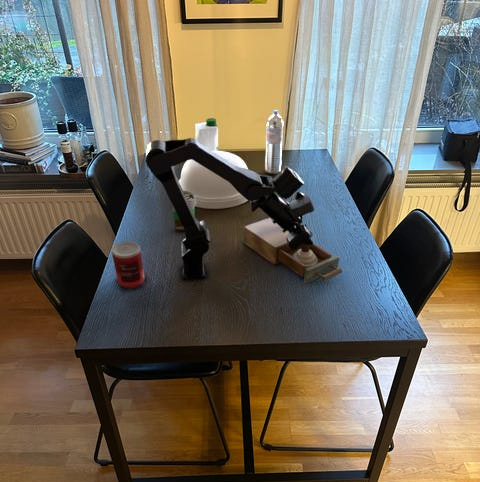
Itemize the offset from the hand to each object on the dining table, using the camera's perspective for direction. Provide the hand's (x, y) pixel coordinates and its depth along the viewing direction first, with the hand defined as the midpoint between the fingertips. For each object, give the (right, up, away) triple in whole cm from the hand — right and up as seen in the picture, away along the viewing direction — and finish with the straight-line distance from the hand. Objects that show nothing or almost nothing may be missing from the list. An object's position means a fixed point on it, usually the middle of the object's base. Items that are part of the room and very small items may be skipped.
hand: (310, 241), depth 132 cm
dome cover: (-30, +26, +46) cm, 61 cm away
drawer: (0, -8, +3) cm, 8 cm away
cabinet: (-9, 0, +14) cm, 17 cm away
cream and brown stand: (-1, -5, +4) cm, 7 cm away
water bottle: (-7, +38, +61) cm, 73 cm away
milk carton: (-35, +41, +64) cm, 84 cm away
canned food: (-52, -12, -1) cm, 53 cm away
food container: (-38, +13, +21) cm, 46 cm away
